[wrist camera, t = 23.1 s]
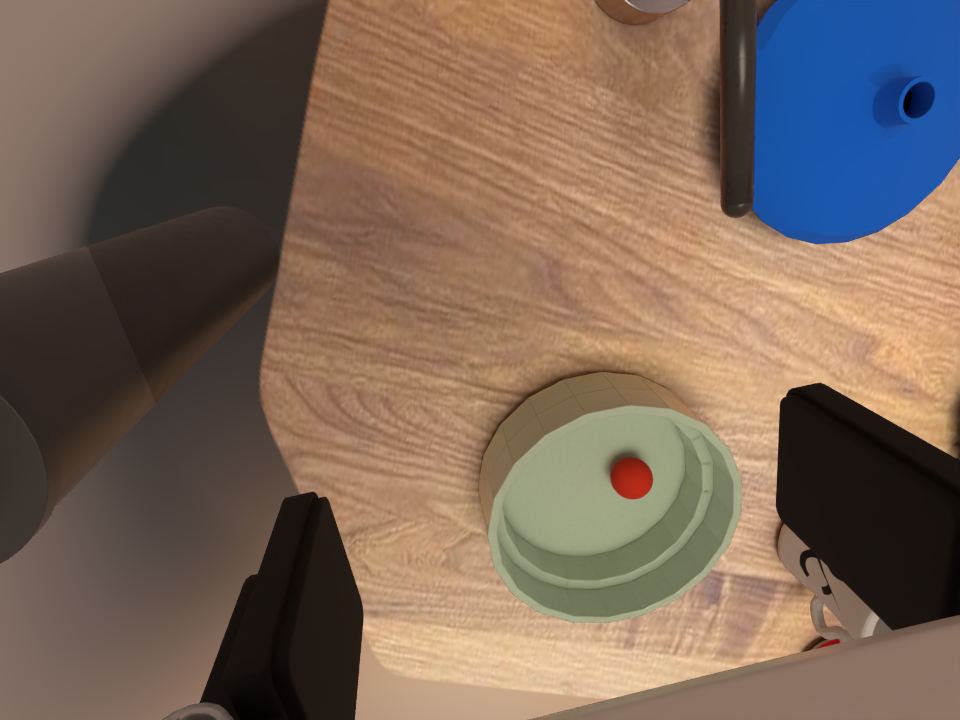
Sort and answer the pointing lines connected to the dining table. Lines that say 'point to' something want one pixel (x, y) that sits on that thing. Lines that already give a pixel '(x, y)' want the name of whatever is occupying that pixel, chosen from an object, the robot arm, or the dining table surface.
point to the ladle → (721, 88)
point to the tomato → (631, 478)
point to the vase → (853, 113)
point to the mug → (828, 593)
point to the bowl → (605, 499)
